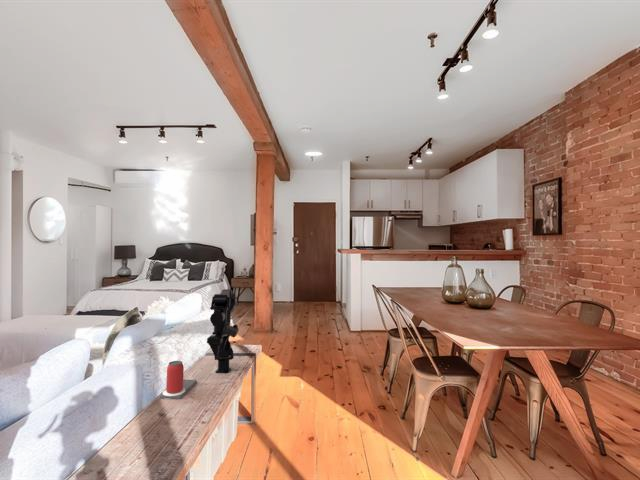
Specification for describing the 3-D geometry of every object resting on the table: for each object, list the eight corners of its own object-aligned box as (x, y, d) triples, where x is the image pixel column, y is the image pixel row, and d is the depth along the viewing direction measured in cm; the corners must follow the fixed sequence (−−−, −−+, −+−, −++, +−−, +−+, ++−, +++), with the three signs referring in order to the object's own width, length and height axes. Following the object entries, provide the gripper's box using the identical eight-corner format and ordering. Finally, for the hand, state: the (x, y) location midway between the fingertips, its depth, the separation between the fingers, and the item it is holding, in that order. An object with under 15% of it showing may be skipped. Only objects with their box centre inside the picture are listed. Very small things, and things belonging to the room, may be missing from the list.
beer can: (172, 395, 141) (173, 366, 141) (162, 391, 144) (163, 363, 144) (186, 390, 146) (187, 362, 147) (176, 386, 150) (177, 359, 150)
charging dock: (178, 381, 159) (178, 378, 159) (197, 382, 159) (197, 379, 159) (158, 399, 140) (158, 395, 141) (179, 399, 140) (180, 396, 140)
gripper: (231, 325, 152) (230, 360, 151) (242, 317, 171) (241, 348, 170) (206, 324, 152) (205, 359, 152) (220, 316, 171) (219, 347, 170)
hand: (219, 353), depth 161 cm, fingers open, 9 cm apart
